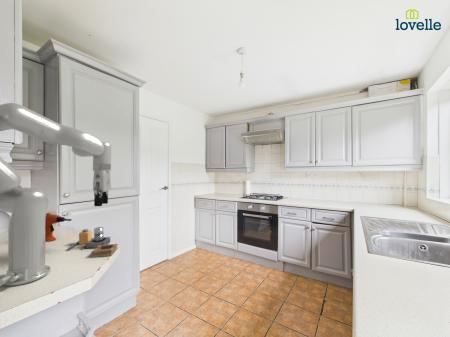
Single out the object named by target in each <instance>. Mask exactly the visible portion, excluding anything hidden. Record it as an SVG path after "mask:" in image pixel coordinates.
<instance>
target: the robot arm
mask: <svg viewBox="0 0 450 337" xmlns="http://www.w3.org/2000/svg"><path fill="white" fill-rule="evenodd" d="M9 130H14V131H17V132H20V133H22V134H26V135H28V136H29V137H33V138H35V139H37V140H40V141H42V142H44V143H48V144H52V145H61V146H67V147H71V150H72V152H73V154H74V155H76V156H78V157H81V158H83V157H85V158H86V157H92V172H93V181H92V190H93V197H94V201H93V202H94V205H93V207H102V206H103V205H104V204H105V205H106V204H109V191H110V190H111V188H112V187H111V186H112V185H111V184H112V183H111V171H112V145H111V144H110V143H109V142H102V140H100V139H99V138H97V137H95V136H93V135H92V134H90V133H87V132H85V131H82V130H79V129H76V128H74V127H70V126H67V125H64V124H61V123H58V122H56V121H54V120H52V119H51V118H48V117H46V116H44V115H42V114H40V113H39V112H36V111H34V110H32V109H30V108H28V107H26V106H24V105H21V104H19V103H15V102H7V103H2V104H0V132H5V131H9ZM21 182H22V178H21V175H20V174H19V172H18V171H17V170H16V169H15V168H14V167H12V166H11V165H10V164H9V163H8V162H7V161H5V159H3V158H2V157H1V156H0V210H1V211H2V212H5V213H9V214H11V215H10V219H9V222H8V229H7V231H8V234H7V235H8V238H7V239H8V247H7V248H8V250H7V251H8V252H7V253H8V254H7V256H8V259H7V262H8V267H7V268H8V269H7V270H6V274H5V275H4V276H3V277H2V278H0V287H2V286H8V287H10V286H20V285H25V284H29V283H31V282H34V281H38V280H40V279H42V278H43V277H45V276H46V277H47V275H48V274H50V272H51V266H50V265H46V242H45V219H46V214H47V211H48V208H49V207H48V206H49V198H48V196H47V194H46V193H45V192H44V191H42V190H40V189H38V188H35V187H23V186H21Z"/></svg>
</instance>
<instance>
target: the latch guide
mask: <svg viewBox="0 0 450 337" xmlns="http://www.w3.org/2000/svg"><path fill="white" fill-rule="evenodd" d="M93 238H94V237H91V240H92V239H93ZM78 245H79V240H78V241H76V242H75V243H73V244H72V245H70V246H69V247H67V251H68V252H69V251H71V250H73V249H74V248H76V247H77V246H78ZM81 248H82V249H81V250H82V251H83V250H85V249H86V245H82V247H81Z"/></svg>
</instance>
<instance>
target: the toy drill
mask: <svg viewBox="0 0 450 337" xmlns="http://www.w3.org/2000/svg"><path fill="white" fill-rule="evenodd" d="M64 222H72V218H66V217H64V216H60V215H57V214H51V213H49V212H48V213H47V212H46V219H45V243H47V242H48V243H50V242H54V241H57V238H56V237H55V236H54V235H53V232H54V231H55V228H54V225H53V224H58V223H64Z"/></svg>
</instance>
